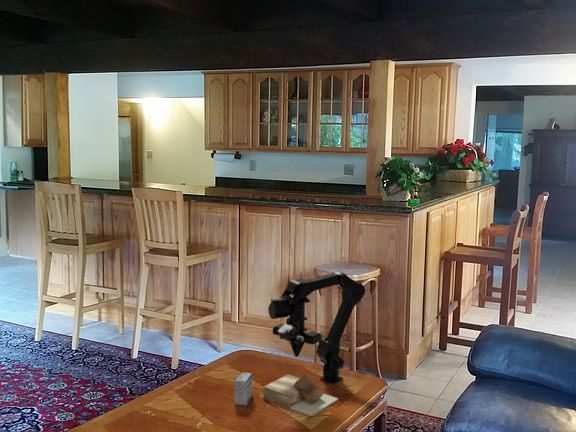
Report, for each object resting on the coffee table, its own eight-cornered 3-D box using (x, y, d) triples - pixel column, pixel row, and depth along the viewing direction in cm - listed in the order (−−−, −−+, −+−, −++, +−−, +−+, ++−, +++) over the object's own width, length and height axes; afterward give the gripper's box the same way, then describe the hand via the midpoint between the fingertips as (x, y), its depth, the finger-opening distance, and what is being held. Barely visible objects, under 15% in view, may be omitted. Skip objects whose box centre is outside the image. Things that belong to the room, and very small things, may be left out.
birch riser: (288, 384, 224) (288, 374, 223) (314, 393, 216) (314, 382, 216) (263, 397, 213) (263, 386, 212) (290, 407, 206) (290, 395, 205)
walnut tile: (293, 386, 210) (296, 381, 208) (302, 379, 214) (305, 374, 213) (311, 404, 206) (314, 400, 205) (320, 397, 211) (323, 393, 210)
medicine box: (246, 405, 206) (246, 381, 205) (234, 404, 207) (234, 380, 206) (252, 396, 214) (252, 372, 213) (240, 395, 215) (240, 371, 214)
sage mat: (317, 393, 217) (317, 391, 217) (338, 399, 211) (338, 398, 211) (290, 408, 204) (290, 407, 204) (311, 416, 199) (311, 414, 199)
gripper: (262, 315, 217) (262, 356, 219) (304, 325, 206) (303, 369, 208) (282, 308, 226) (282, 348, 228) (322, 317, 214) (322, 359, 216)
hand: (296, 356), depth 220 cm, fingers closed
